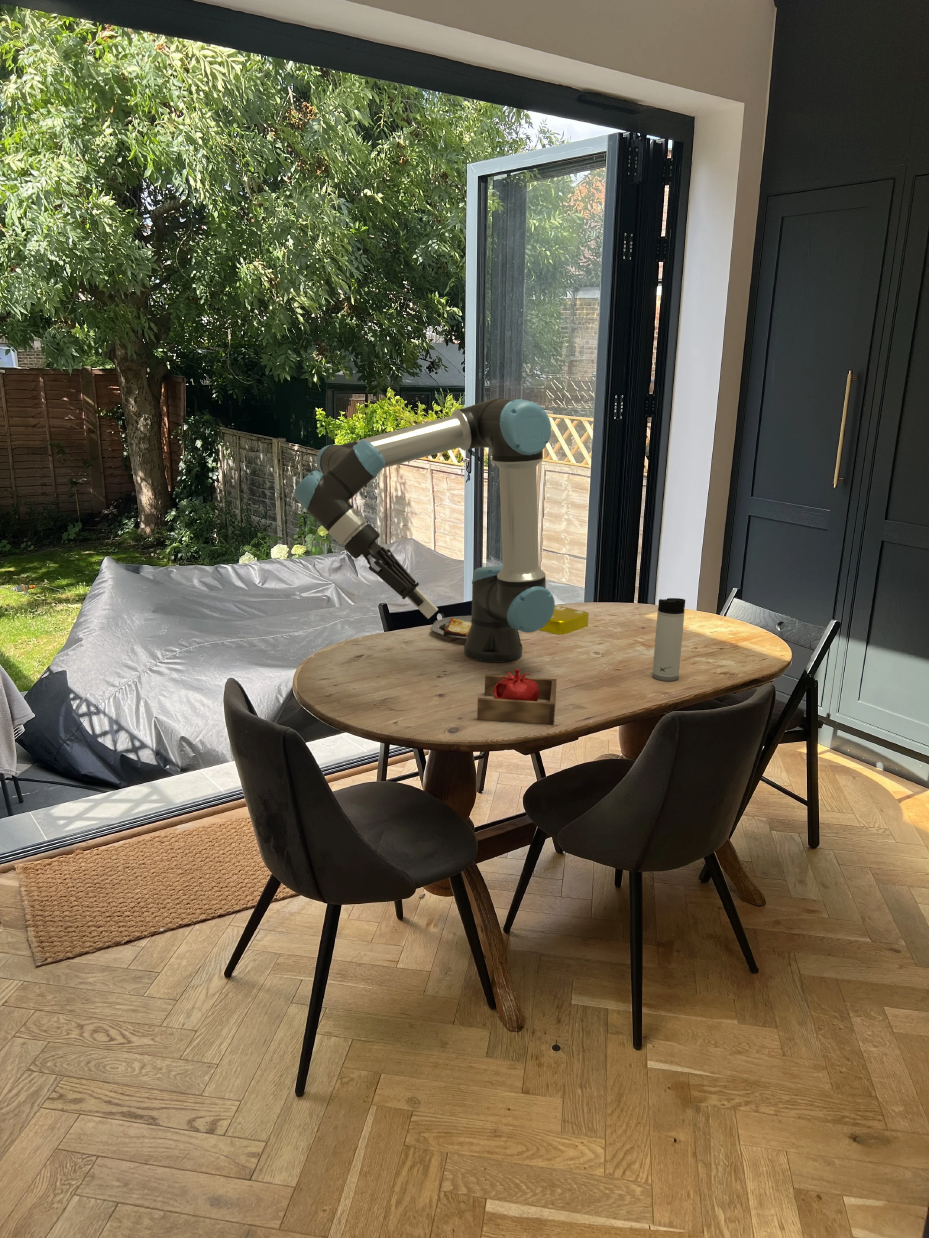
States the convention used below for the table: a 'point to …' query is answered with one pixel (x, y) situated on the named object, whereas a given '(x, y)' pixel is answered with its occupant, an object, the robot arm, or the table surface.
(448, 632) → the food plate
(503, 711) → the box
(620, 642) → the table surface
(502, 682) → the pomegranate
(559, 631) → the element tile
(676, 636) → the travel mug
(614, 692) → the table surface
